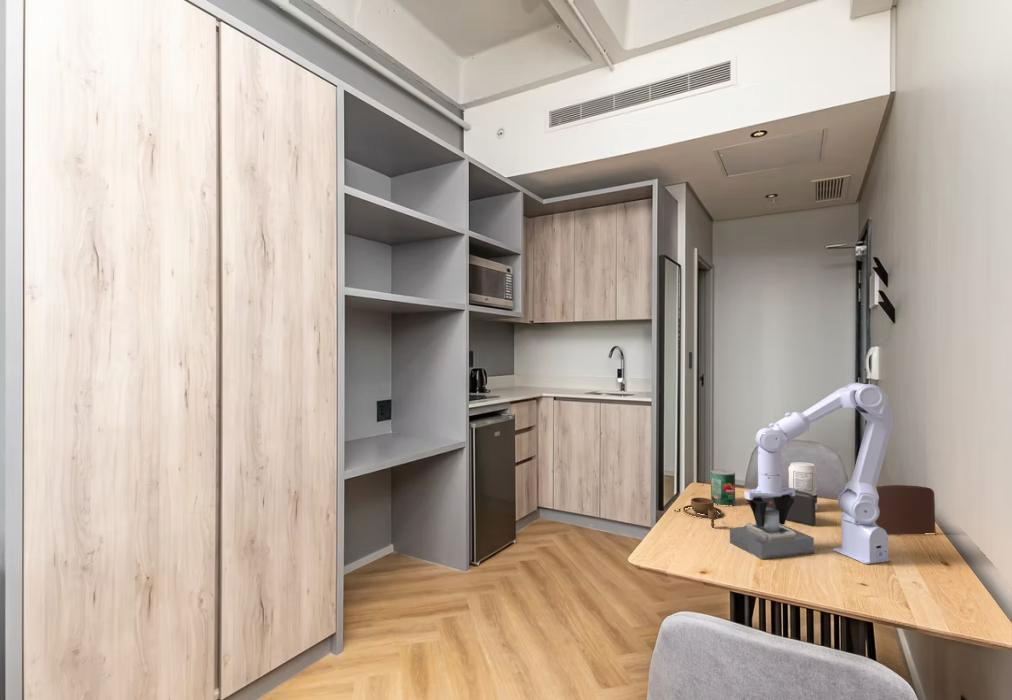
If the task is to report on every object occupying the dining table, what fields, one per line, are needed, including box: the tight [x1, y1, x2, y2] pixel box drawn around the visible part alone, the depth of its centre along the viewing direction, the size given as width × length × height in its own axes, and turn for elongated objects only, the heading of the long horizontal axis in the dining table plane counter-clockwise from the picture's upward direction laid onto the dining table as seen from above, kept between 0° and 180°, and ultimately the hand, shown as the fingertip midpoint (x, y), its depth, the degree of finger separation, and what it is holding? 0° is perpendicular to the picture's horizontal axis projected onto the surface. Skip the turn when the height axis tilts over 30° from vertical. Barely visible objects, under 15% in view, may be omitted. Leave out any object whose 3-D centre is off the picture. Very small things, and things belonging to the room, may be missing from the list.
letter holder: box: [875, 484, 937, 534], centre depth 151 cm, size 10×20×14 cm, turn 89°
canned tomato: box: [710, 468, 736, 507], centre depth 178 cm, size 8×8×11 cm
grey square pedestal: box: [729, 522, 815, 560], centre depth 139 cm, size 16×16×5 cm
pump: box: [761, 508, 780, 533], centre depth 137 cm, size 4×4×6 cm
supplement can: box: [788, 461, 818, 511], centre depth 171 cm, size 8×8×15 cm
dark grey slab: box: [762, 490, 817, 526], centre depth 160 cm, size 16×5×9 cm, turn 39°
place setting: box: [673, 497, 723, 528], centre depth 163 cm, size 18×20×6 cm
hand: (770, 524), depth 137 cm, fingers open, 6 cm apart
